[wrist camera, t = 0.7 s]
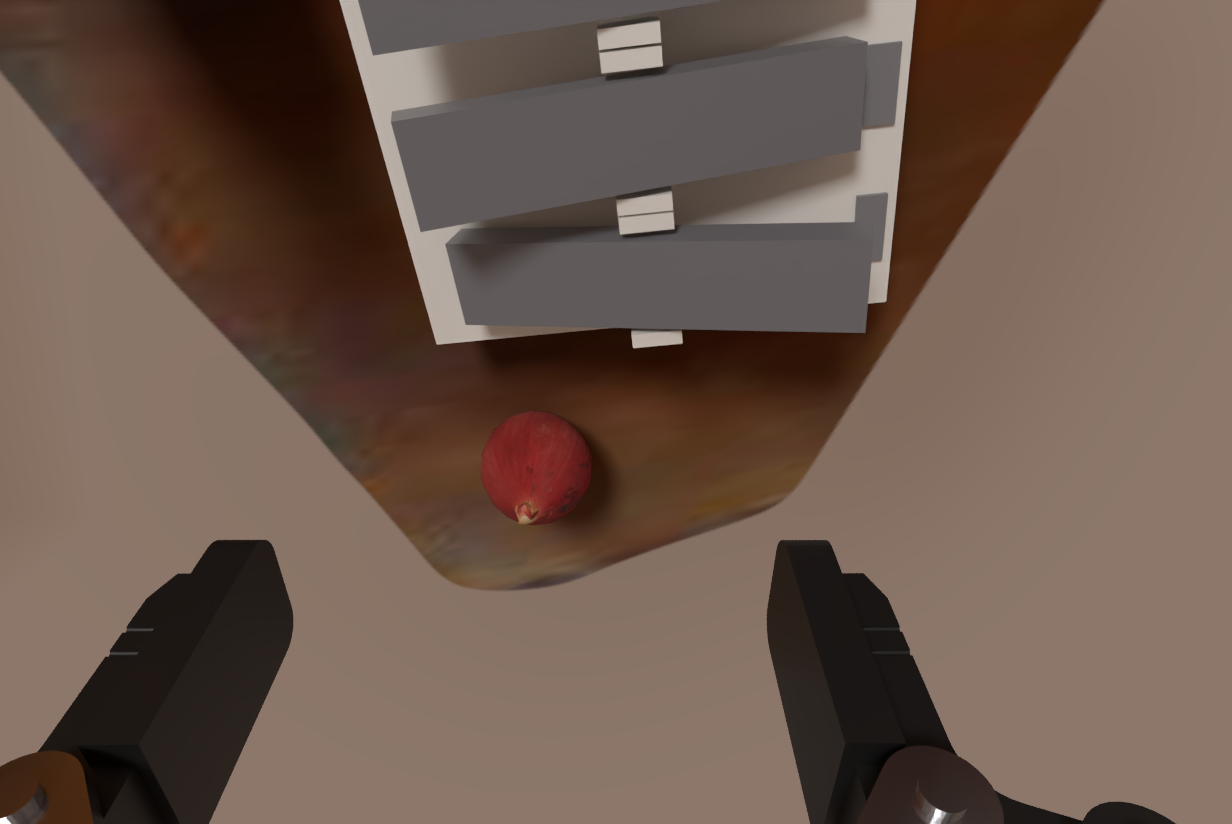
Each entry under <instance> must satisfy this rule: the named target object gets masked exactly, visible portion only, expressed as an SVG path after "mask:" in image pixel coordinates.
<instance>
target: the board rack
mask: <svg viewBox="0 0 1232 824" xmlns="http://www.w3.org/2000/svg"><path fill="white" fill-rule="evenodd" d="M340 4H341V8H342V11H343V15H344V18H345V22H346V25H347V29H348V32H349V36H350V39H351V43H352V46H353V50H354V54H355V57H356V61H357V64H358V68H359V71H360V75H361V78H362V82H363V85H364V89H365V92H366V96H367V100H368V103H369V107H370V110H371V114H372V117H373V121H374V124H375V128H376V131H377V135H378V138H379V142H380V145H381V149H382V153H383V156H384V160H385V163H386V167H387V170H388V174H389V177H390V181H391V184H392V188H393V191H394V195H395V199H396V202H397V206H398V209H399V213H400V216H401V220H402V223H403V227H404V230H405V234H406V237H407V241H408V245H409V248H410V252H411V255H412V259H413V262H414V266H415V269H416V273H417V276H418V280H419V283H420V287H421V291H422V294H423V298H424V301H425V305H426V308H427V312H428V315H429V319H430V322H431V326H432V329H433V333H434V337H435V340H436V344H448V343H458V342H469V341H479V340H490V339H500V338H511V337H522V336H532V335H543V334H553V333H564V332H574V331H585V330H595V329H606V328H591V327H542V326H492V325H466V324H465V320H464V317H463V313H462V309H461V305H460V301H459V297H458V293H457V289H456V285H455V281H454V277H453V273H452V269H451V265H450V261H449V257H448V253H447V249H446V246H445V244H446V243H447V242H448V241H449V240H450V239H451V238H452V237H453V236H454V235H455V234H456V233H457V232H458V231H460V230H461V229H469V228H529V227H588V226H619V231H620V235H621V234H631V233H640V232H650V231H660V230H669V229H675V228H674V225H708V224H768V223H828V222H872V226H873V250H872V262H871V274H870V285H869V297H868V304H870V303H880V302H886V297H887V287H888V277H889V267H890V257H891V247H892V237H893V227H894V217H895V207H896V197H897V187H898V177H899V167H900V157H901V147H902V137H903V127H904V117H905V107H906V97H907V87H908V77H909V67H910V57H911V47H912V37H913V27H914V17H915V7H916V0H724V1H718V2H712V3H705V4H699V5H693V6H686V7H680V8H674V9H667V10H661V11H654V12H648V13H642V14H635V15H629V16H623V17H616V18H610V19H603V20H597V21H591V22H584V23H578V24H572V25H565V26H559V27H552V28H546V29H540V30H533V31H527V32H521V33H514V34H508V35H502V36H495V37H489V38H482V39H476V40H470V41H463V42H457V43H451V44H444V45H438V46H431V47H425V48H419V49H412V50H406V51H400V52H393V53H387V54H381V55H374V56H373V54H372V50H371V47H370V43H369V39H368V36H367V32H366V28H365V25H364V21H363V17H362V14H361V10H360V6H359V2H358V0H340ZM842 36H848V37H852V38H855V39H859V40H863V41H867V42H868V46H867V61H866V75H865V89H864V104H863V118H862V132H861V147H860V150H858V151H853V152H847V153H842V154H837V155H831V156H826V157H821V158H815V159H810V160H805V161H799V162H794V163H789V164H783V165H778V166H773V167H767V168H762V169H756V170H751V171H746V172H740V173H735V174H730V175H724V176H719V177H714V178H708V179H703V180H698V181H692V182H687V183H682V184H676V185H671V186H665V187H660V188H655V189H649V190H644V191H639V192H633V193H628V194H623V195H617V196H612V197H607V198H601V199H596V200H591V201H585V202H580V203H574V204H569V205H564V206H558V207H553V208H548V209H542V210H537V211H532V212H526V213H521V214H516V215H510V216H505V217H500V218H494V219H489V220H483V221H478V222H473V223H467V224H462V225H457V226H451V227H446V228H441V229H435V230H430V231H425V232H420V228H419V224H418V221H417V217H416V213H415V210H414V206H413V202H412V198H411V195H410V191H409V187H408V184H407V180H406V176H405V173H404V169H403V165H402V161H401V158H400V154H399V150H398V147H397V143H396V139H395V136H394V132H393V128H392V124H391V116H392V111H397V110H403V109H410V108H416V107H422V106H428V105H434V104H440V103H446V102H452V101H458V100H464V99H470V98H476V97H482V96H488V95H494V94H500V93H506V92H512V91H518V90H524V89H530V88H536V87H542V86H548V85H554V84H560V83H566V82H572V81H578V80H584V79H590V78H596V77H602V76H608V75H614V74H620V73H626V72H632V71H638V70H644V69H650V68H656V67H662V66H668V65H674V64H680V63H686V62H692V61H698V60H704V59H710V58H716V57H722V56H728V55H734V54H740V53H746V52H752V51H758V50H764V49H770V48H776V47H782V46H788V45H794V44H800V43H806V42H812V41H818V40H824V39H830V38H836V37H842ZM631 335H632V344H633V348H641V347H652V346H663V345H673V344H683V341H682V329H641V328H631Z"/></svg>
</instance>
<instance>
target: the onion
mask: <svg viewBox="0 0 1232 824" xmlns="http://www.w3.org/2000/svg"><path fill="white" fill-rule="evenodd" d="M591 468H592V456H591V453H590V449H589V447H588V445H587V443H586V442H585V440H584V438H583V436H582V434H581V433H580V432H579V431H578V430H577V429H575V428H574V427H573V426H572V425H571V424H570V423H569V422H568V421H566V420H565V419H564V418H562V417H559V416H557V415H555V414H552V413H550V412H543V411H528V412H524V413H520V414H516V415H514V416H512V417H510V418H508V419H507V420H506V421H504V422H503V423H502V424H500V425H499V426H498V427H497V428H495V429H494V430H493V432H492V434H491V436H490V438H489V440H488V442H487V443H486V446H485V448H484V450H483V452H482V472H481V479H482V483H483V486H484V488H485V490H486V492H487V494H488V496H489V498H490V500H491V501H492V503H493V505H494V506H495V507H496V508H497V509H499V510H500V511H501V512H502V513H503V514H504V515H506V516H507V517H508V518H510V519H513V520H515V521H517V522H519V524H529V525H540V524H547V523H552V522H555V521H556V520H558V519H560V518H561V517H563V516H565V515H566V514H568V513H569V512H571V511H572V510H573V509H574V508H575V507H576V505H577V504H578V502H579V501H580V499H581V498H582V496H583V495H584V493H585V492H586V490H587V489H588V488H589V484H590V480H591Z"/></svg>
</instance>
